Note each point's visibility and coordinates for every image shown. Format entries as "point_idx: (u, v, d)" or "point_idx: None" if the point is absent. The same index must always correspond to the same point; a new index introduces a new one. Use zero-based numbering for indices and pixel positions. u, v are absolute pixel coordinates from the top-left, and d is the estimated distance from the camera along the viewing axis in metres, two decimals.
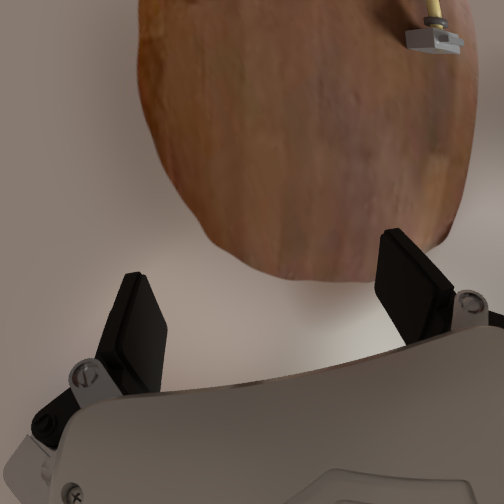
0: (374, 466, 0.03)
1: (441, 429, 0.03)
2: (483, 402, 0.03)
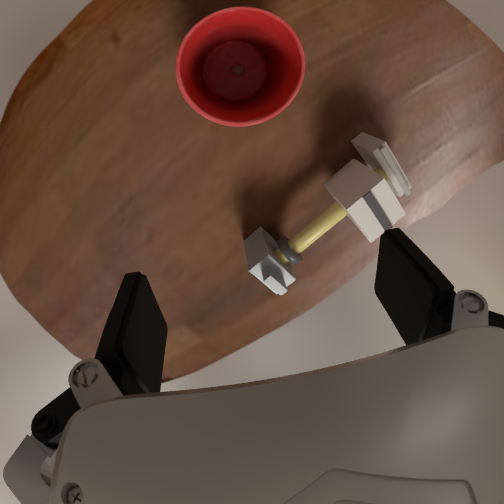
0: (374, 467, 0.03)
1: (441, 429, 0.03)
2: (483, 402, 0.03)
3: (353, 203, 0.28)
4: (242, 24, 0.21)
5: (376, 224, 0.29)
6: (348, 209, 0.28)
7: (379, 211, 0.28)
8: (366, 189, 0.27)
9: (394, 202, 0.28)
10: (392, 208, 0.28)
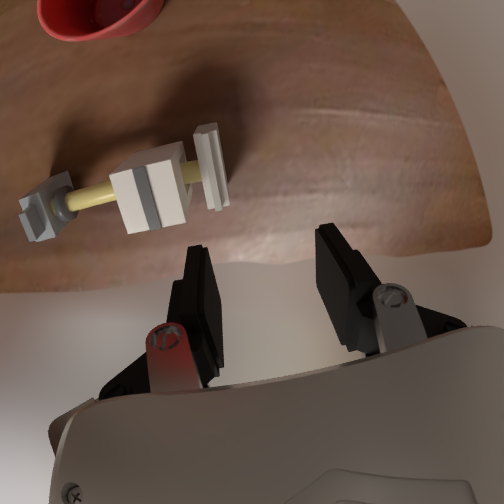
0: (374, 466, 0.03)
1: (441, 429, 0.03)
2: (483, 402, 0.03)
3: (120, 171, 0.20)
4: None
5: (141, 214, 0.22)
6: (111, 175, 0.20)
7: (148, 198, 0.21)
8: (144, 164, 0.21)
9: (174, 198, 0.22)
10: (168, 205, 0.22)
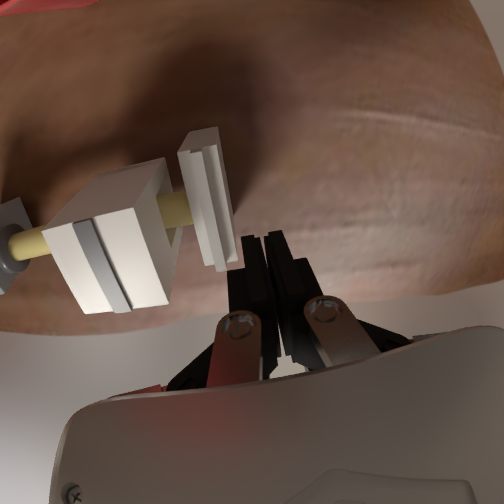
0: (374, 466, 0.03)
1: (441, 429, 0.03)
2: (483, 402, 0.03)
3: (56, 225, 0.11)
4: None
5: (98, 290, 0.13)
6: (44, 232, 0.11)
7: (104, 270, 0.12)
8: (93, 212, 0.12)
9: (146, 270, 0.13)
10: (138, 279, 0.13)
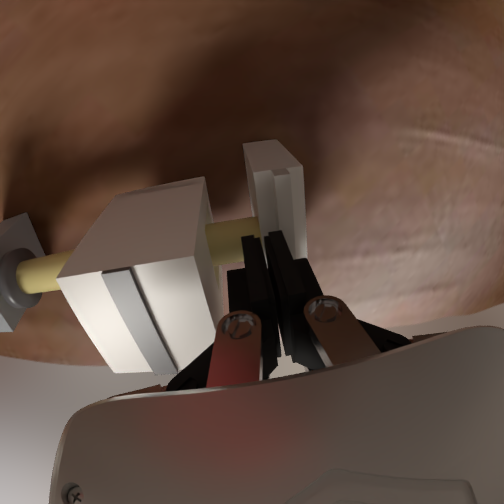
0: (374, 466, 0.03)
1: (441, 429, 0.03)
2: (483, 402, 0.03)
3: (77, 273, 0.09)
4: None
5: (134, 349, 0.10)
6: (60, 280, 0.08)
7: (145, 330, 0.10)
8: (130, 257, 0.09)
9: (202, 330, 0.10)
10: (191, 340, 0.10)
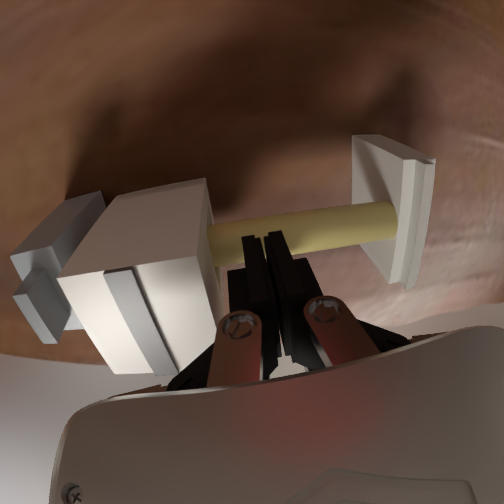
0: (374, 466, 0.03)
1: (441, 429, 0.03)
2: (483, 402, 0.03)
3: (79, 273, 0.09)
4: None
5: (135, 350, 0.10)
6: (61, 280, 0.08)
7: (147, 331, 0.10)
8: (132, 257, 0.09)
9: (204, 331, 0.10)
10: (192, 340, 0.10)
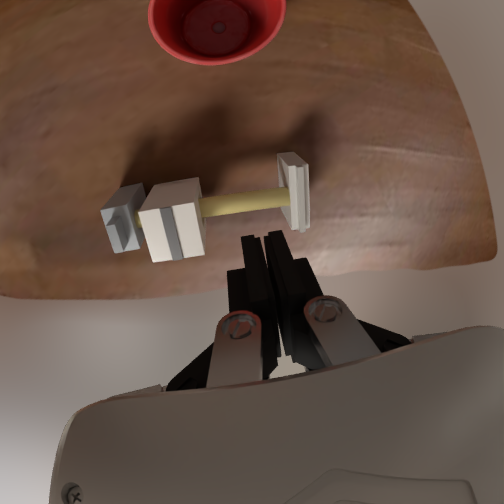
0: (374, 466, 0.03)
1: (441, 429, 0.03)
2: (483, 402, 0.03)
3: (148, 209, 0.25)
4: None
5: (165, 246, 0.26)
6: (140, 213, 0.25)
7: (172, 234, 0.26)
8: (170, 204, 0.25)
9: (195, 234, 0.26)
10: (190, 240, 0.26)
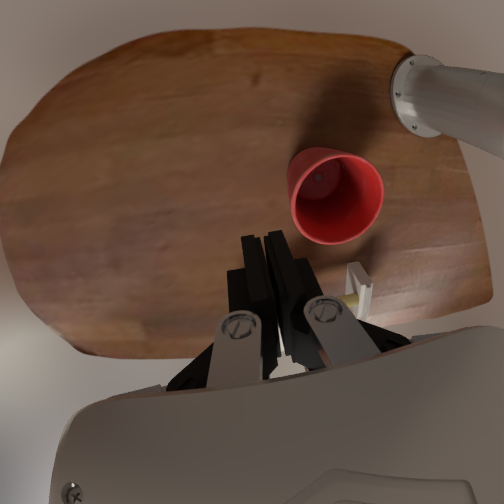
0: (374, 466, 0.03)
1: (441, 429, 0.03)
2: (483, 402, 0.03)
3: None
4: (354, 163, 0.32)
5: None
6: None
7: None
8: None
9: None
10: None
